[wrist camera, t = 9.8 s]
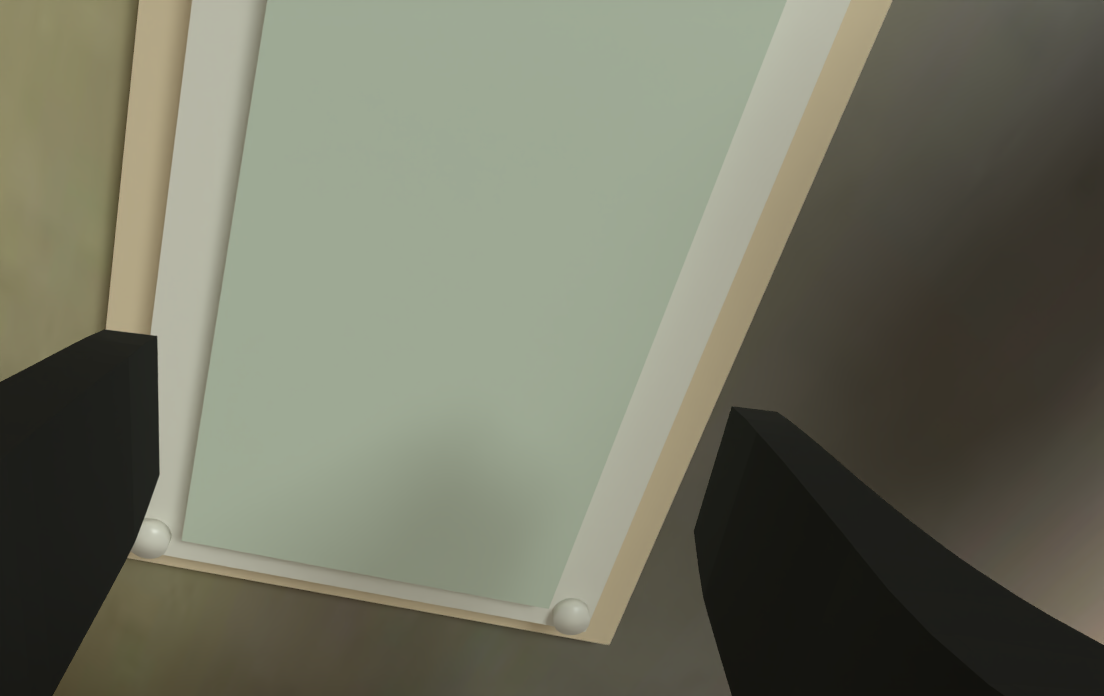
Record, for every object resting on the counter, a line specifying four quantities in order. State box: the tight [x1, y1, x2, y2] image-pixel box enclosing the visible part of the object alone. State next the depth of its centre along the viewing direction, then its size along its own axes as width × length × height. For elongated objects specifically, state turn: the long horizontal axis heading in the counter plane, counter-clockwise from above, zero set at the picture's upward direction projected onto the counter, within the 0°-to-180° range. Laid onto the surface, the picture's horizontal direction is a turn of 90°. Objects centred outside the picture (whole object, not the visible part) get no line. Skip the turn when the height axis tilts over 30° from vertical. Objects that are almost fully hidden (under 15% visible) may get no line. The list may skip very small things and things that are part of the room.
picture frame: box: [106, 0, 892, 645], centre depth 18 cm, size 12×18×2 cm, turn 163°
